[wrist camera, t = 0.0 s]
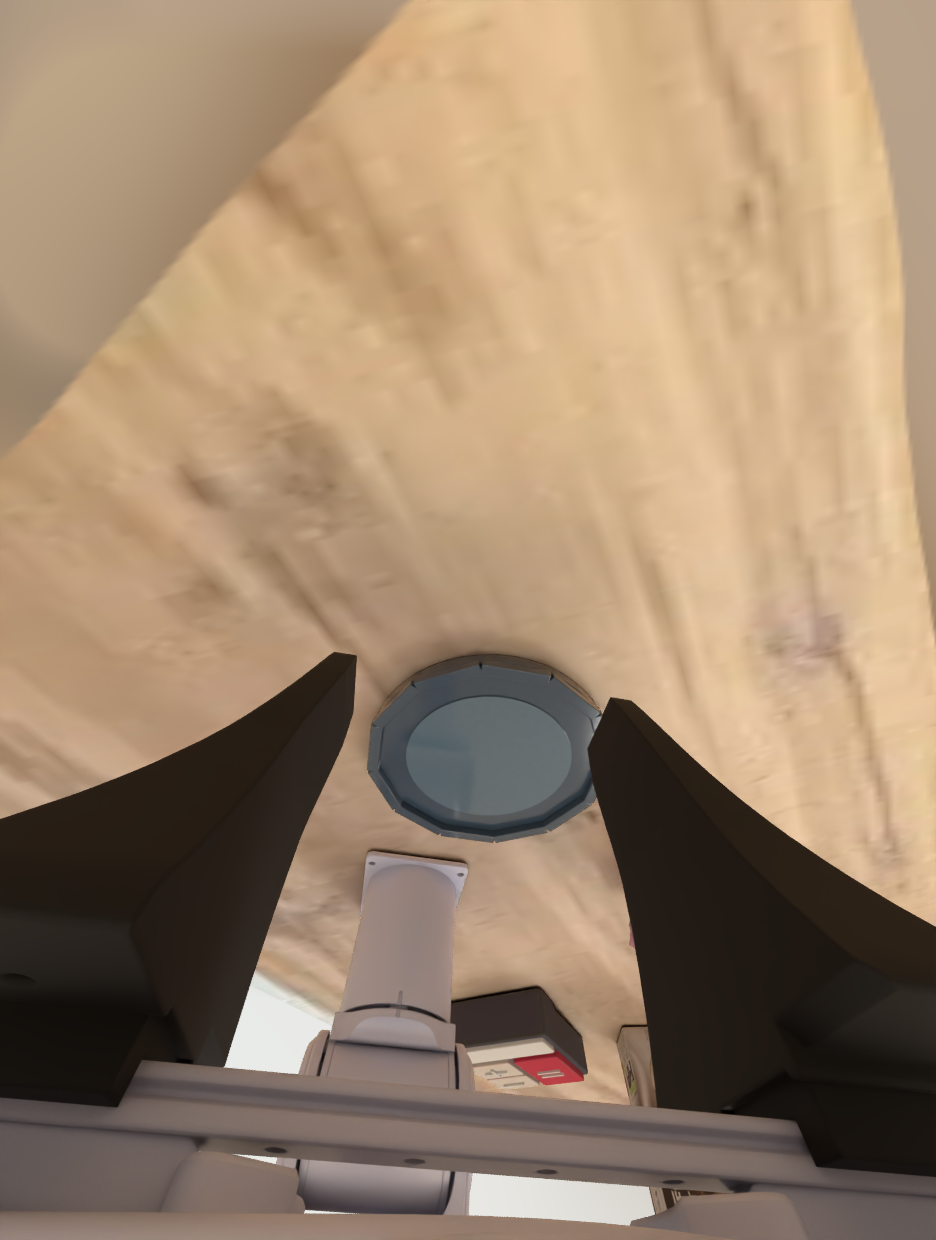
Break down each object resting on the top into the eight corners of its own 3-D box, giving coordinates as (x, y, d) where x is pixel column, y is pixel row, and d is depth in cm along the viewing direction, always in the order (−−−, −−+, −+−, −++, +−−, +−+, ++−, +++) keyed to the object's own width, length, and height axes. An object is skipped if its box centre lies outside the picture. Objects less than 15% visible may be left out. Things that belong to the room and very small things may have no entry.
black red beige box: (500, 1094, 47) (442, 1060, 40) (497, 1042, 51) (444, 1003, 44) (591, 1084, 45) (546, 1046, 38) (581, 1030, 48) (539, 987, 41)
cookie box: (615, 1045, 49) (672, 1308, 35) (621, 1024, 46) (686, 1302, 32) (692, 1046, 48) (781, 1312, 34) (703, 1024, 45) (806, 1307, 31)
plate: (565, 836, 30) (568, 854, 29) (365, 809, 29) (360, 825, 28) (642, 677, 23) (651, 691, 22) (382, 633, 22) (377, 646, 21)
